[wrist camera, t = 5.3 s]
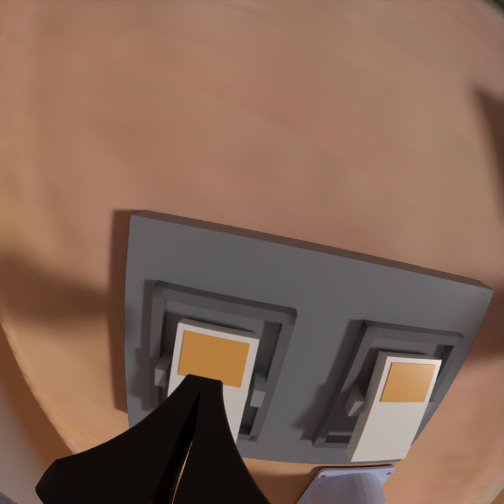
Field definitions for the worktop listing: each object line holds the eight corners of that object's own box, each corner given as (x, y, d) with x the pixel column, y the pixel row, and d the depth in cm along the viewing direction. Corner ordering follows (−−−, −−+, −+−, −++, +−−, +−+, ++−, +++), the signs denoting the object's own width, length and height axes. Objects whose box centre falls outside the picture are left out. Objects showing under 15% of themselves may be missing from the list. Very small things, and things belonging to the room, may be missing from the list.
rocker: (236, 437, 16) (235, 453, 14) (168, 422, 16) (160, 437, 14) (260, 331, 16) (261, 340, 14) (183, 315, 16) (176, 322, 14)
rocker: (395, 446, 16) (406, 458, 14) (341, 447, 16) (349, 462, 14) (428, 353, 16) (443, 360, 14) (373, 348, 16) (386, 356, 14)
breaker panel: (393, 445, 21) (405, 475, 17) (137, 413, 21) (121, 446, 17) (478, 280, 17) (510, 300, 13) (145, 210, 16) (114, 220, 13)
